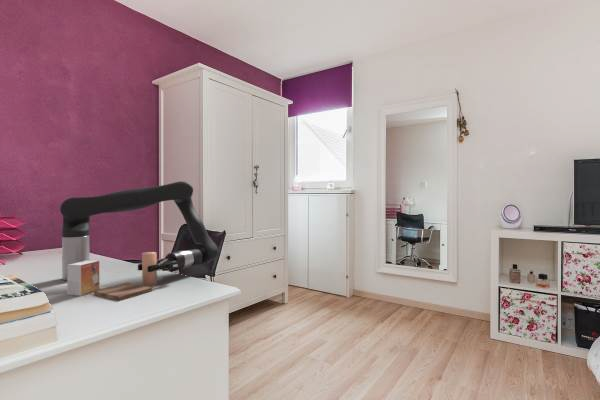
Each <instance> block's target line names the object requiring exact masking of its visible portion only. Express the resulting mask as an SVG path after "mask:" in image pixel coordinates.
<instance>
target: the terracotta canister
mask: <svg viewBox="0 0 600 400" xmlns="http://www.w3.org/2000/svg"><path fill="white" fill-rule="evenodd" d="M157 258H158V257H157V251H146V252H142V253H141V264H142V270H141V274H142V276H141V278H142V279H141V282H142V284H141V285H142V286H147V287H153V286H156V285H157V284H158V272H157V271H158V270H157V271H153V272H148V266H151V265H156V264H157V260H158V259H157Z"/></svg>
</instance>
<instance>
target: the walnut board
mask: <svg viewBox="0 0 600 400" xmlns="http://www.w3.org/2000/svg"><path fill="white" fill-rule="evenodd" d="M152 291H153V286H142V284H136V283H132V282H125V283H121V284H118V285H113V286H109V287H105V288H102V289H100V288H99V290H97V291H93V295H95V296H99V297H103V298H107V299H112V300H115V301H119V302H120V301H123V300H127V299H130V298H132V297H136V296H140V295H143V294H146V293H149V292H152Z"/></svg>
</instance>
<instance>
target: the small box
mask: <svg viewBox="0 0 600 400" xmlns="http://www.w3.org/2000/svg"><path fill="white" fill-rule="evenodd" d="M67 274H68V280H67V295H68V296H77V297H78V296H80V297H81V296H84V295H86V294H89V293H94V291H97V290H100V260H86V261H82V262H78V263H74V264H68V265H67Z"/></svg>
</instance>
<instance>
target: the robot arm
mask: <svg viewBox="0 0 600 400" xmlns="http://www.w3.org/2000/svg"><path fill="white" fill-rule="evenodd" d="M193 194H194V188H193V185H192V184H191V183H189V182H188V181H182V180H181V181H175V182H172V183H168V184H163V185H156V186H148V187H139V188H131V189H125V190H124V189H123V190H118V191H115V192H110V193H106V194H102V195H96V196H82V197H80V196H76V197H75V196H72V197H69V198H67V199H65V200H63V202H62V203H61V205H60V208H59V210H60V211H59V212H60V213H61V215H62V230H61V245H62V246H61V253H62V254H61V255H62V256H61V268H62V271H61V272H62V274H61V275H62V276H61V278H62V280H63V281H68V274H67V265H68V264H74V263H78V262H82V261H86V260H90V259H91V258H90V229H91V228H90V227H91V226H90V221H91V220H90V218H91V217H92V216H95V215H102V214H105V213H106V214H108V213H123V212H124V213H125V212H131V211H136V210H137V211H138V210H142V209H146V208H148V207H151V206H154V205H157V204H159V203H161V202H167V201H174V203H175V205H176V206H177V208H178V209H179V211H180V213H181V215H182V216H183V218H184V221H185V223H186V226H187V229H188V231H189V233H190V236H191V238H192V241H193V242H194V244H195V245H200V244H201V245H202V246H203V248H200V249H197V248H193V249H192V248H191V249H188V250H179V251H174V252H170V253H167V254H166V255H165V257H162V258H159V259H157V264H156V265H151V266H148V272H153V271H158V272H160V271H162V272H165V271H169V272H176V271H180V270H184V269H187V268H189V267H194V266H197V265H205V264H207V263H210V262H211V261H214V260H216V259H218V258H219V254H220V251H219V248H218V245H217V244H216V243H215V242H214V240H213V239H212V238H211V236H210V235H209V234H208V231H207V229H206V227H205V223H204V222H203V220H202V219H201V217H200V216H199V214H198V212H197V211H196V209H195V206H194V204H193V200H192V196H193ZM137 271H139V272H140V271H141V272H142V263H140V264H137Z"/></svg>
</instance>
